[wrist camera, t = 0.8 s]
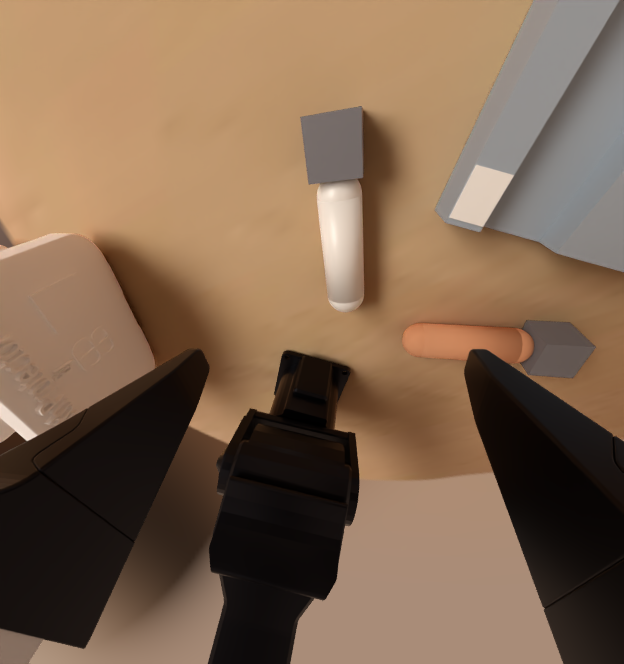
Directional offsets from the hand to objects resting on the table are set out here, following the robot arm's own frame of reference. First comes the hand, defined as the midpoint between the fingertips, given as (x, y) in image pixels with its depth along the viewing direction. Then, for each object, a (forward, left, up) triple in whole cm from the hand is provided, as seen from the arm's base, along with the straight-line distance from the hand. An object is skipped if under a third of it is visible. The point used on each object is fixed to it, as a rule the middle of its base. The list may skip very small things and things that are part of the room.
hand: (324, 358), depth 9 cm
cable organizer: (-12, +21, -12) cm, 27 cm away
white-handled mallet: (+1, 0, -12) cm, 12 cm away
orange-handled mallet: (-4, -12, -12) cm, 17 cm away
